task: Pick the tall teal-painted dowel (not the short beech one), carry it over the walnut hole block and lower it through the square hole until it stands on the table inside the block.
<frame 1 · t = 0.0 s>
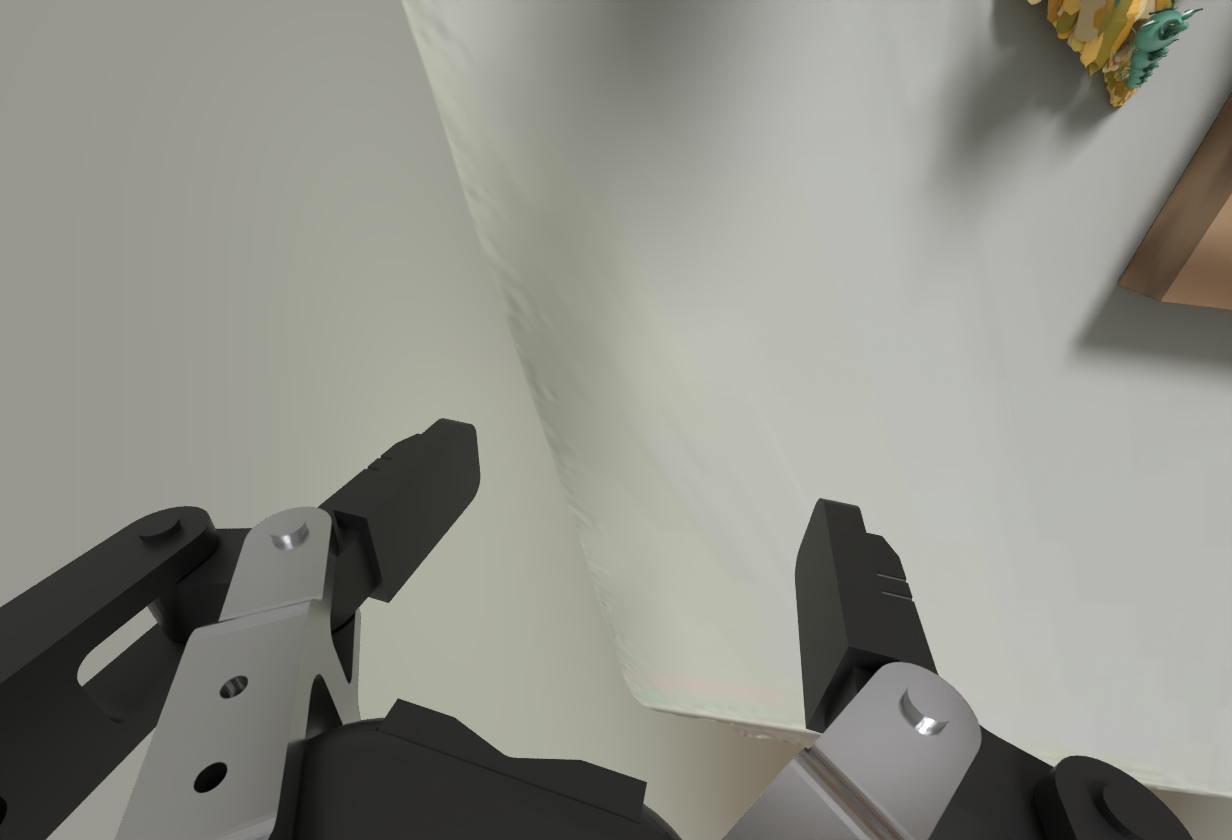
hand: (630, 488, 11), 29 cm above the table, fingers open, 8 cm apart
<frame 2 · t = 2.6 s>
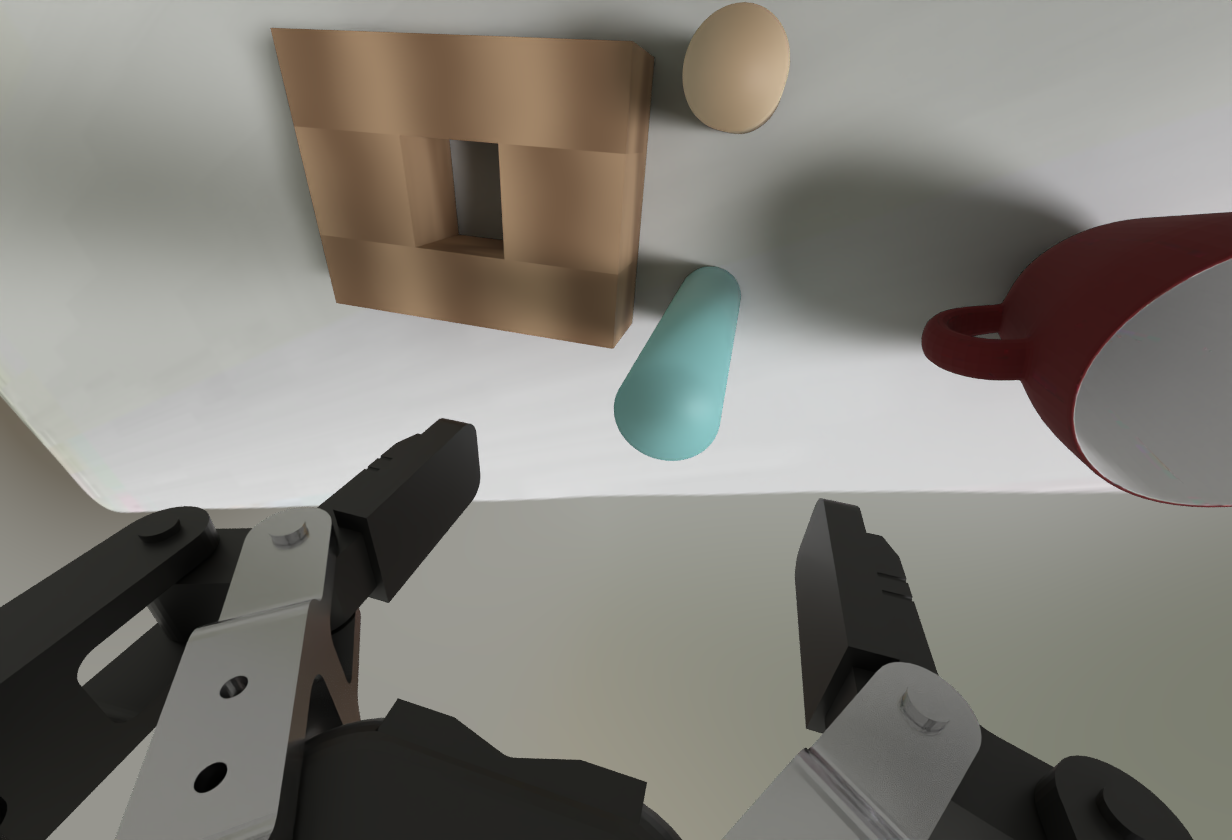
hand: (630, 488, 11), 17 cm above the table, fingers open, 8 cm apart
mug: (1028, 296, 22), on the table
long pin: (709, 297, 25), on the table
short pin: (743, 90, 21), on the table
hole block: (494, 191, 25), on the table
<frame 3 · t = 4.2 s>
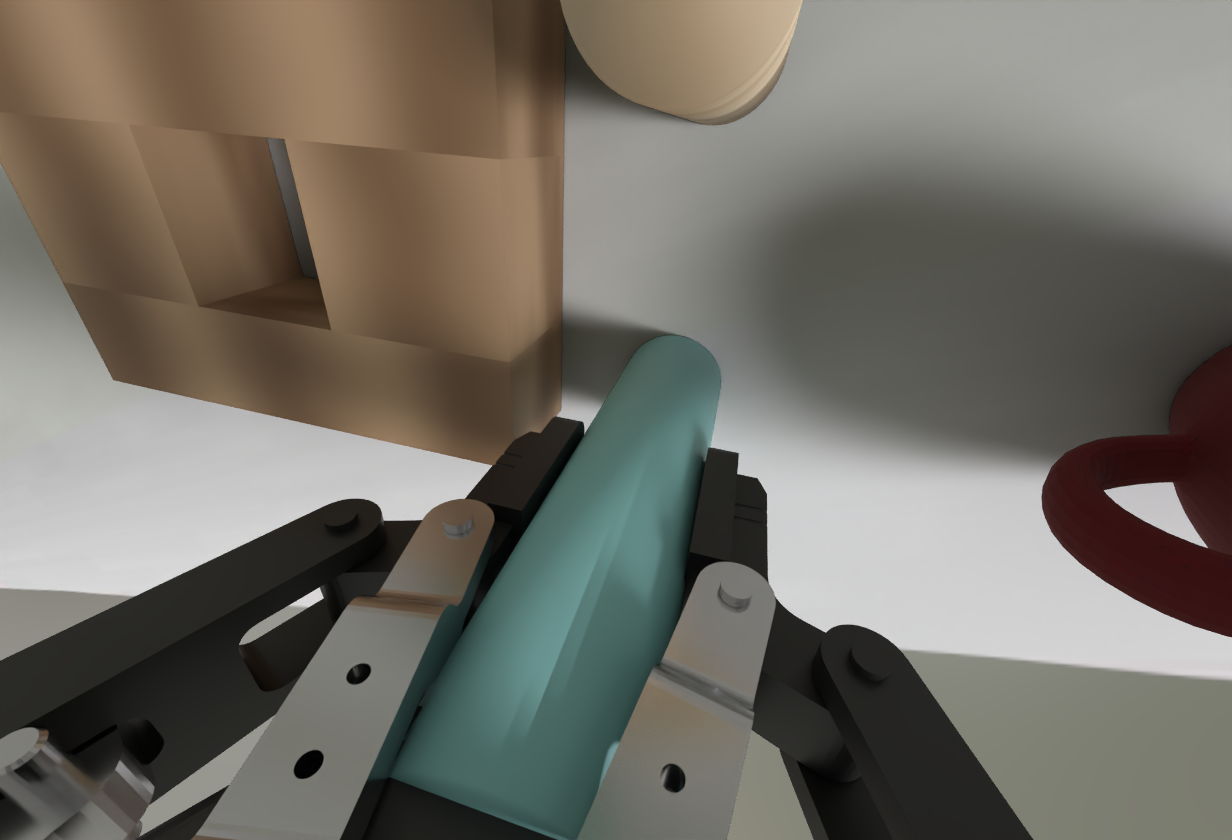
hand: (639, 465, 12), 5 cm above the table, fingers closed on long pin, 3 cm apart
mug: (1200, 400, 13), on the table
long pin: (673, 380, 16), on the table, touching gripper
short pin: (720, 48, 12), on the table
hole block: (343, 215, 17), on the table
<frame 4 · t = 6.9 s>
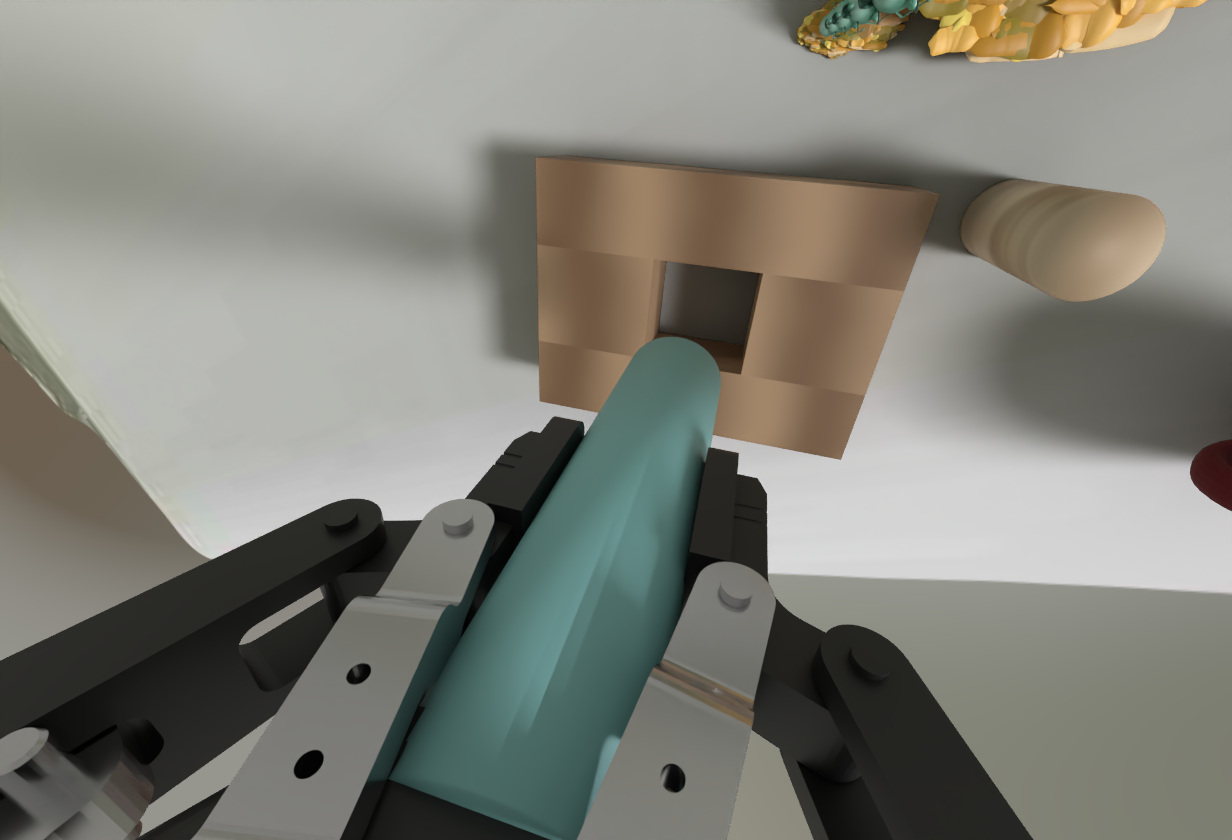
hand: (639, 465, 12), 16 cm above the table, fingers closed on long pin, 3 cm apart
long pin: (673, 381, 16), point 11 cm above the table, touching gripper
short pin: (1003, 220, 21), on the table
hole block: (707, 296, 26), on the table
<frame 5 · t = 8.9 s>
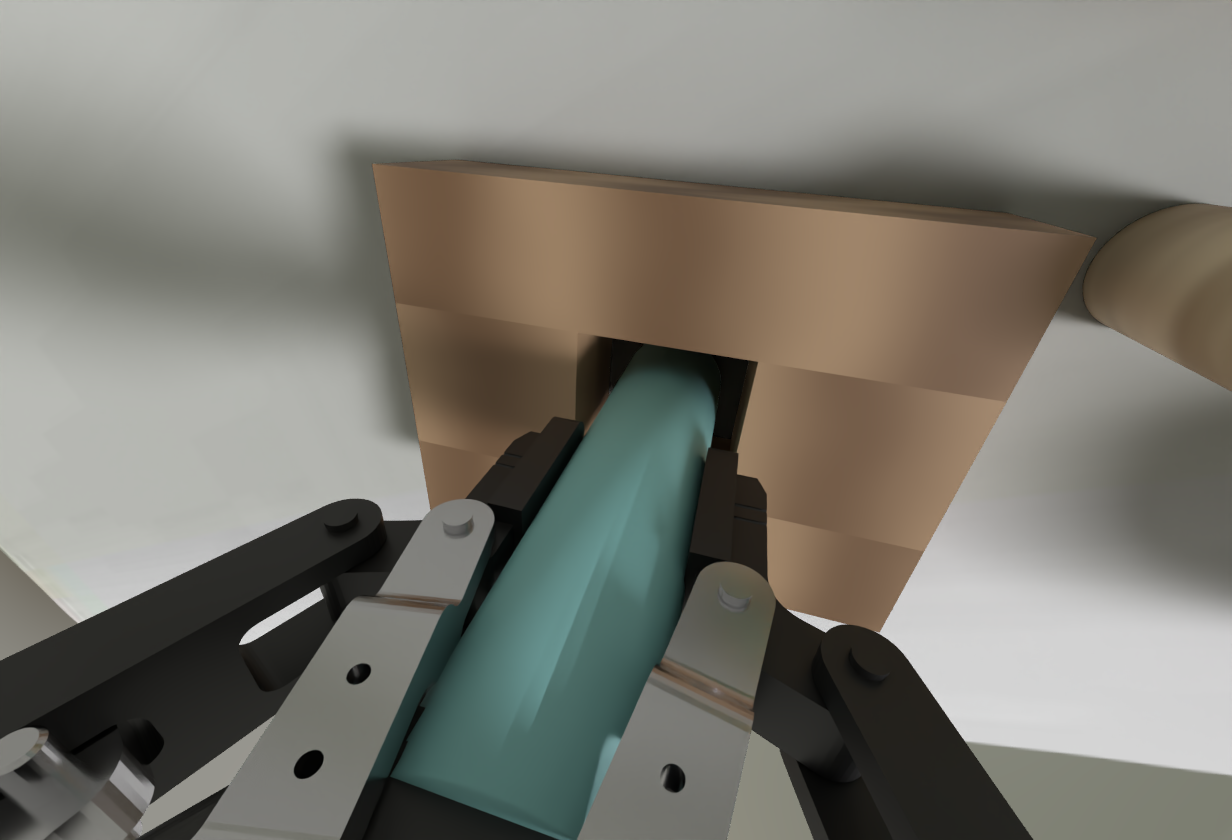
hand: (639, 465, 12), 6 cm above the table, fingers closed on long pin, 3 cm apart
long pin: (673, 381, 16), point 1 cm above the table, touching gripper
short pin: (1162, 271, 12), on the table
hole block: (675, 370, 17), on the table
when the fingers open (6 cm above the table, at t = 9.6 s): long pin stays where it is, resting in hole block.
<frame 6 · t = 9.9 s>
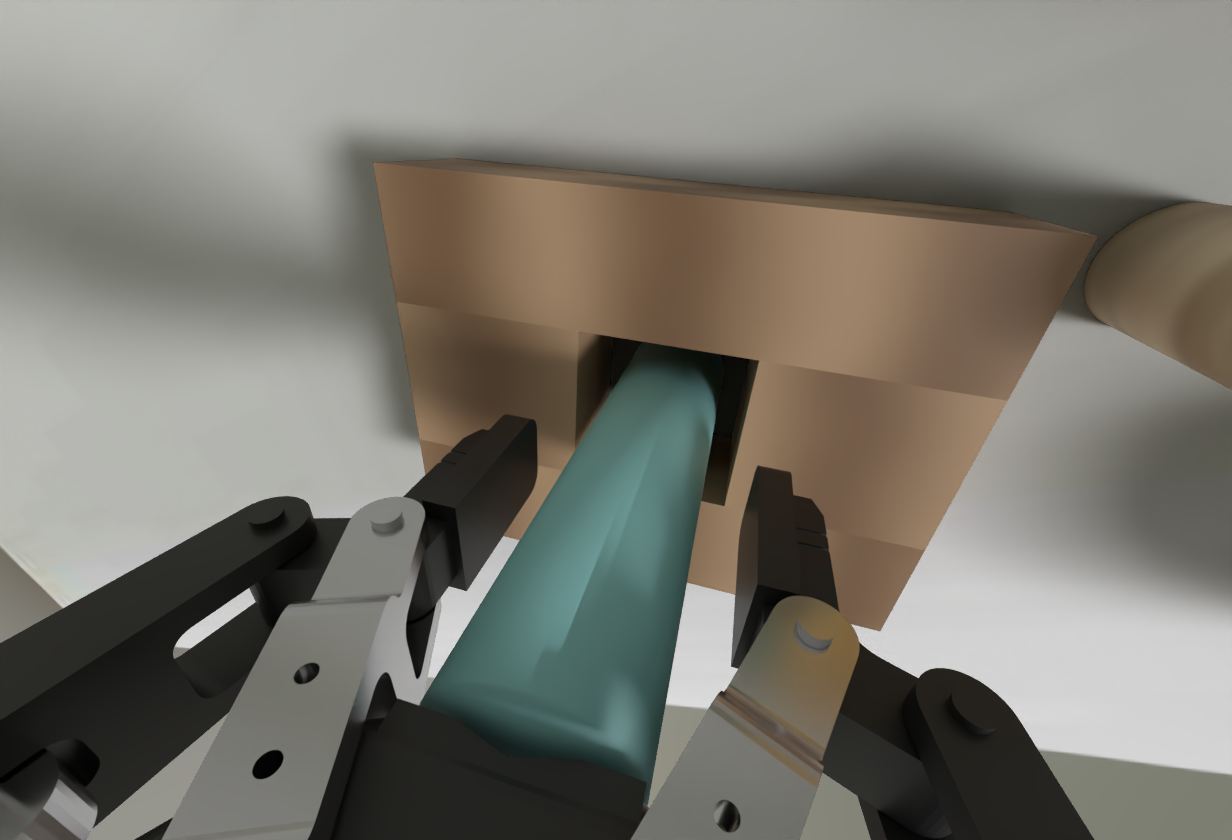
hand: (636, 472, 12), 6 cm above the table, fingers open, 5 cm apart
long pin: (677, 369, 17), resting in hole block
short pin: (1163, 270, 12), on the table
hole block: (676, 369, 17), on the table
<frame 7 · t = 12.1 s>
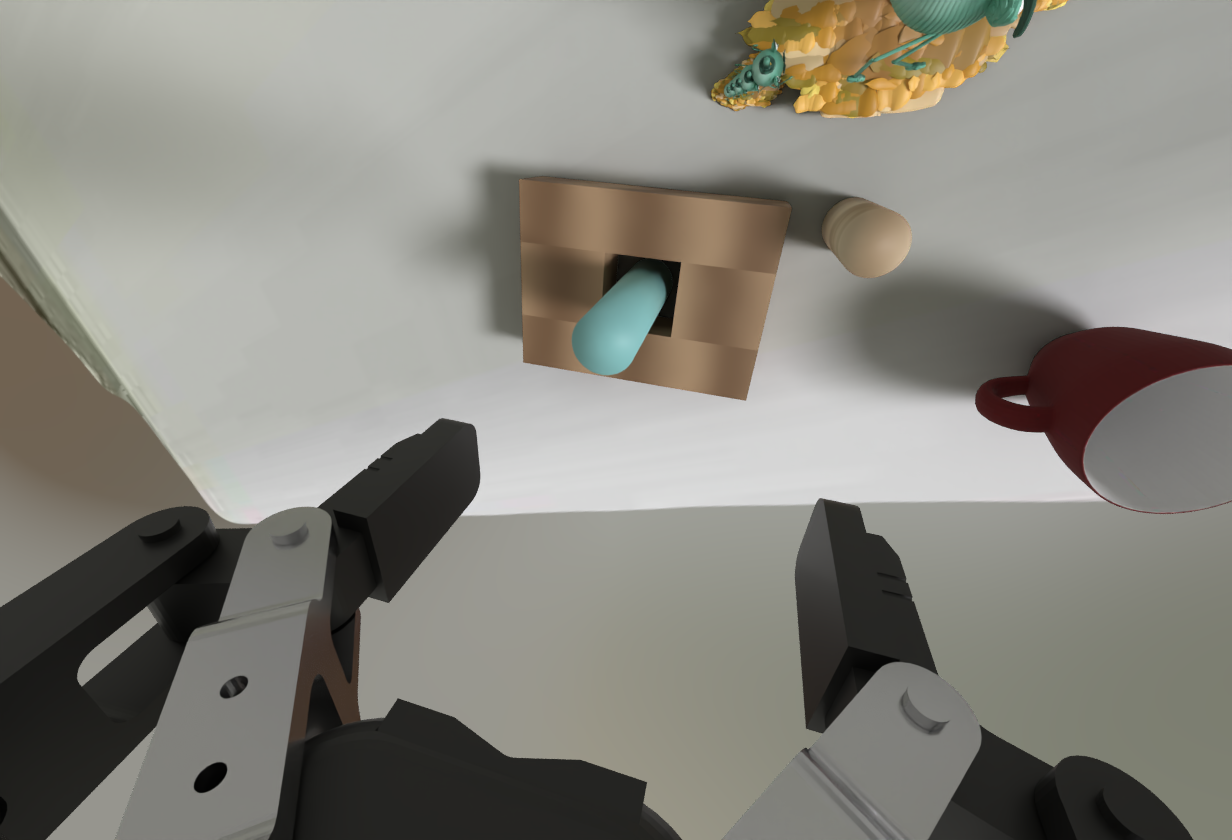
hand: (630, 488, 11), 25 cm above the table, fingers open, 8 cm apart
teal creature figurine: (879, 10, 25), on the table
mug: (1042, 365, 31), on the table
long pin: (650, 281, 34), resting in hole block
short pin: (849, 225, 30), on the table
hole block: (649, 281, 34), on the table
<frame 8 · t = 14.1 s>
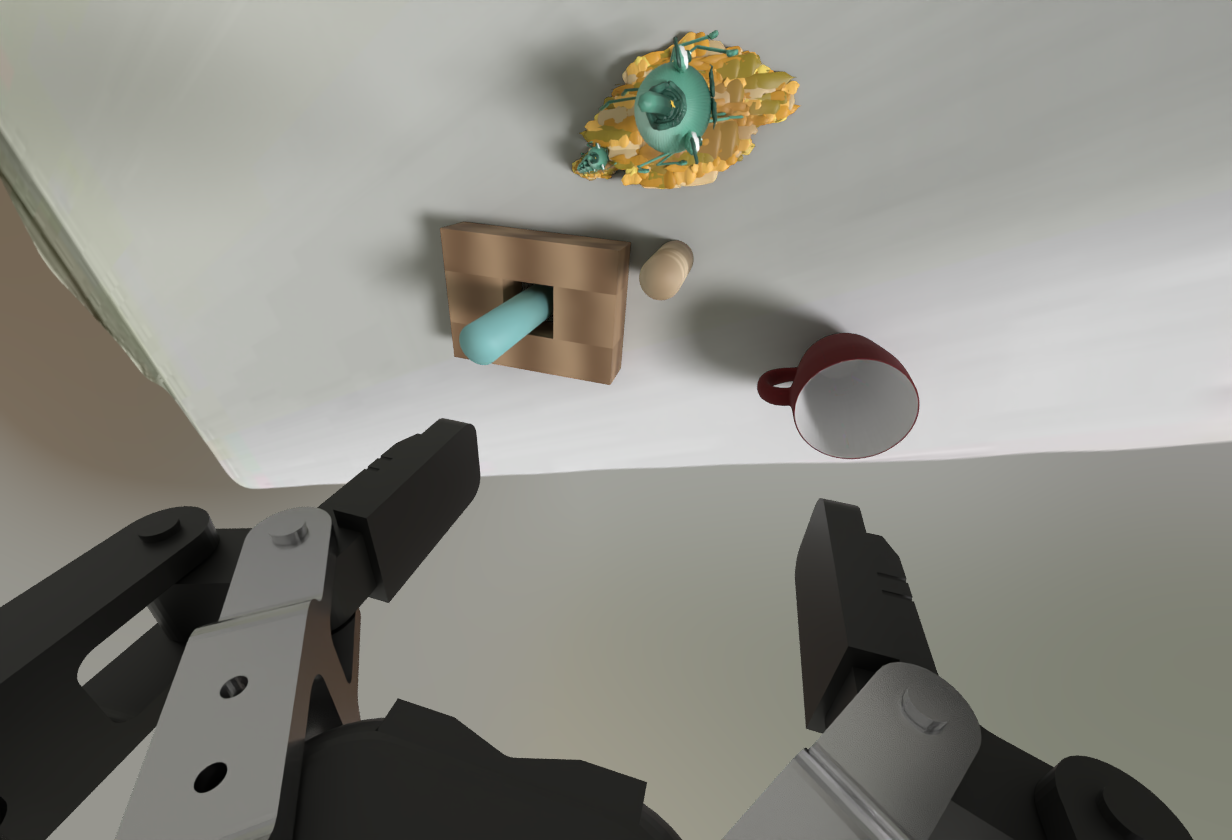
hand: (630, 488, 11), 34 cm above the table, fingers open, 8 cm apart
teal creature figurine: (674, 118, 37), on the table
mug: (820, 360, 43), on the table
long pin: (545, 297, 46), resting in hole block
short pin: (674, 259, 42), on the table
hole block: (545, 297, 46), on the table
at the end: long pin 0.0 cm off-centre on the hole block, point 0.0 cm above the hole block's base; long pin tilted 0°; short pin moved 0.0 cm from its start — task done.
